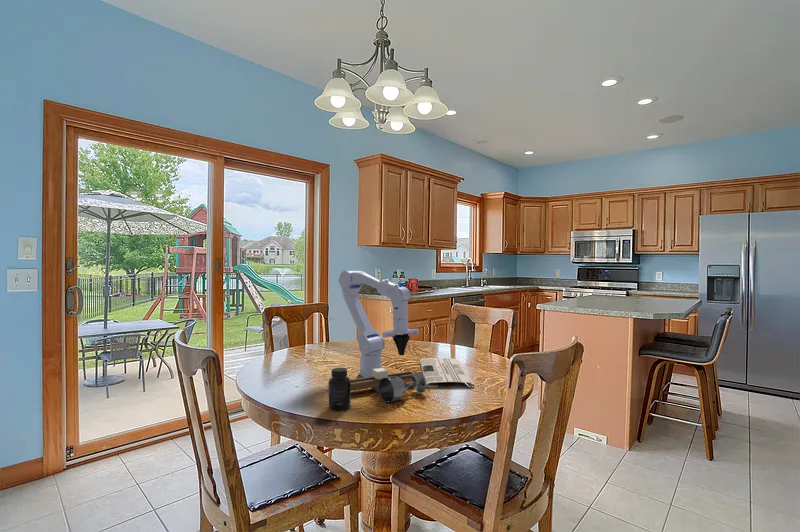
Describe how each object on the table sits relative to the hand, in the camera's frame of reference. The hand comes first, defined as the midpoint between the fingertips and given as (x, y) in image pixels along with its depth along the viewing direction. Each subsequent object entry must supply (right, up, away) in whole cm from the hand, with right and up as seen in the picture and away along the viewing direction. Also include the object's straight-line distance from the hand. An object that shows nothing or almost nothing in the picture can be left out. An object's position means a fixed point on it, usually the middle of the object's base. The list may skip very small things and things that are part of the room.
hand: (401, 354), depth 152 cm
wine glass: (+6, -7, -12) cm, 16 cm away
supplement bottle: (-19, -11, -27) cm, 35 cm away
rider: (-8, -7, -8) cm, 13 cm away
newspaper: (+18, -11, +12) cm, 24 cm away
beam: (-8, -10, -8) cm, 15 cm away
